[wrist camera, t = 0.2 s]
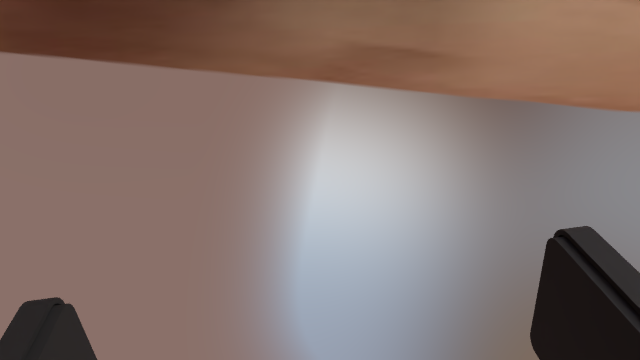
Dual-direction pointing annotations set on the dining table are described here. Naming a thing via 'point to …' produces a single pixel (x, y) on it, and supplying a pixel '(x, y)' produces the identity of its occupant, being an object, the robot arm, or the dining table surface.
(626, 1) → the dining table surface
